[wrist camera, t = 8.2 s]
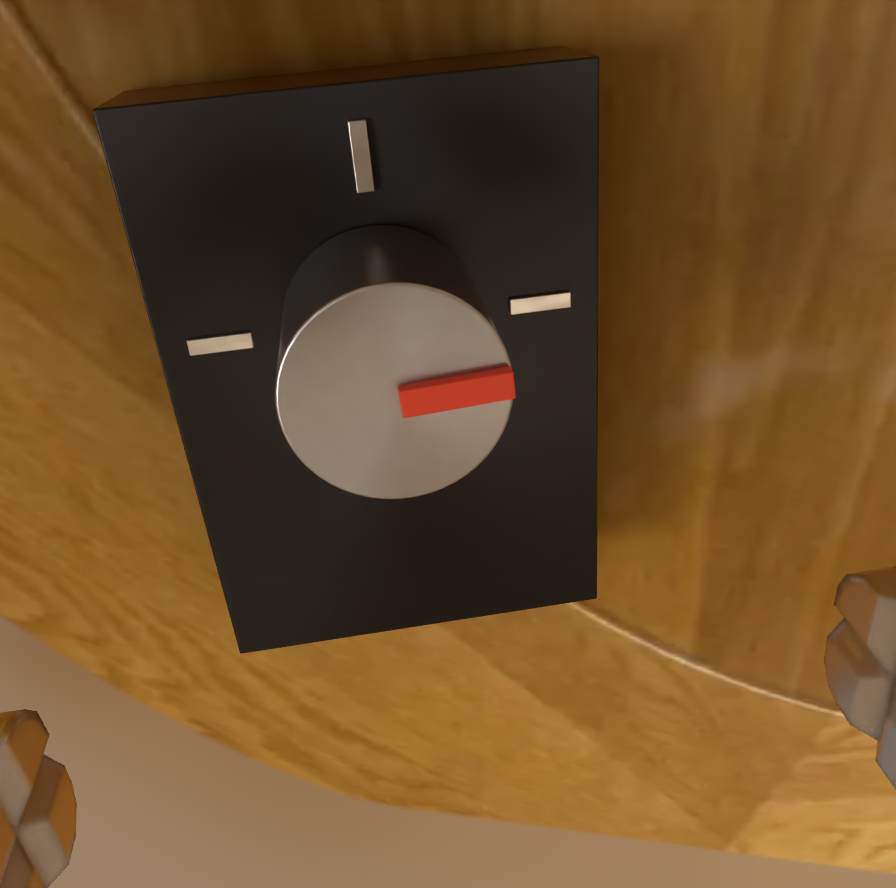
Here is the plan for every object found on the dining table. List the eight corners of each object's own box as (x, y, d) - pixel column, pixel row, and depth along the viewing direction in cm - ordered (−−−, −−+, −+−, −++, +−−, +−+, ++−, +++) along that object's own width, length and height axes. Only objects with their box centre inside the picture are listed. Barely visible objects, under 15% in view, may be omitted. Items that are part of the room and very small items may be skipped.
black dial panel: (122, 91, 19) (90, 110, 16) (562, 45, 20) (602, 56, 17) (247, 585, 26) (239, 658, 23) (570, 537, 26) (599, 602, 24)
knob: (306, 424, 20) (303, 526, 16) (262, 242, 18) (246, 312, 14) (488, 392, 20) (527, 486, 16) (467, 208, 18) (506, 268, 14)
